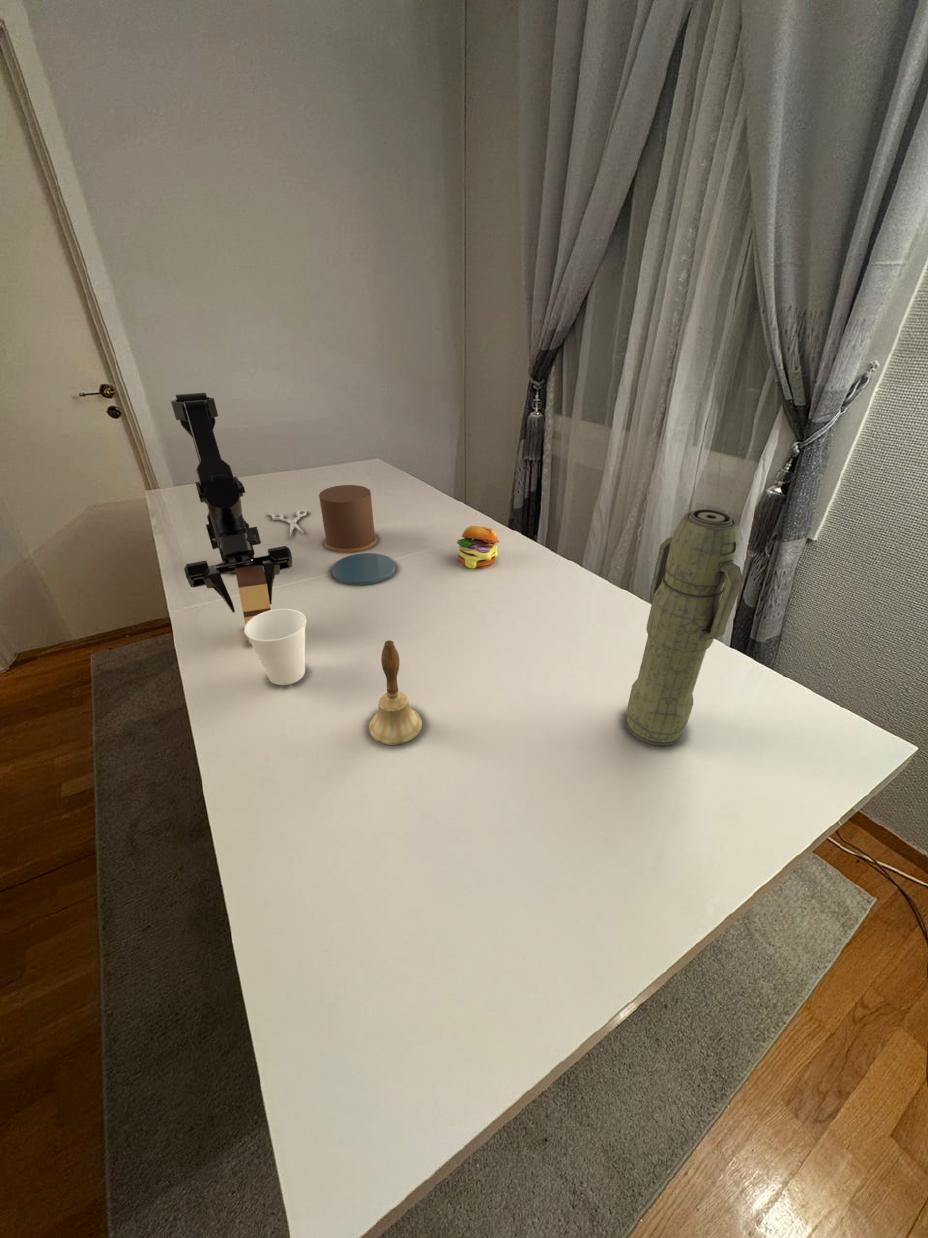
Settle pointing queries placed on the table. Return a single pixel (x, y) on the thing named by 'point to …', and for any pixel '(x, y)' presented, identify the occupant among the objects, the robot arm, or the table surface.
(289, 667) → the cup
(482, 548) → the cheeseburger
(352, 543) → the cake
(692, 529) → the thermos
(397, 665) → the hand bell
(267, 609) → the cake slice
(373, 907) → the table surface
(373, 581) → the plate
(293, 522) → the scissors
